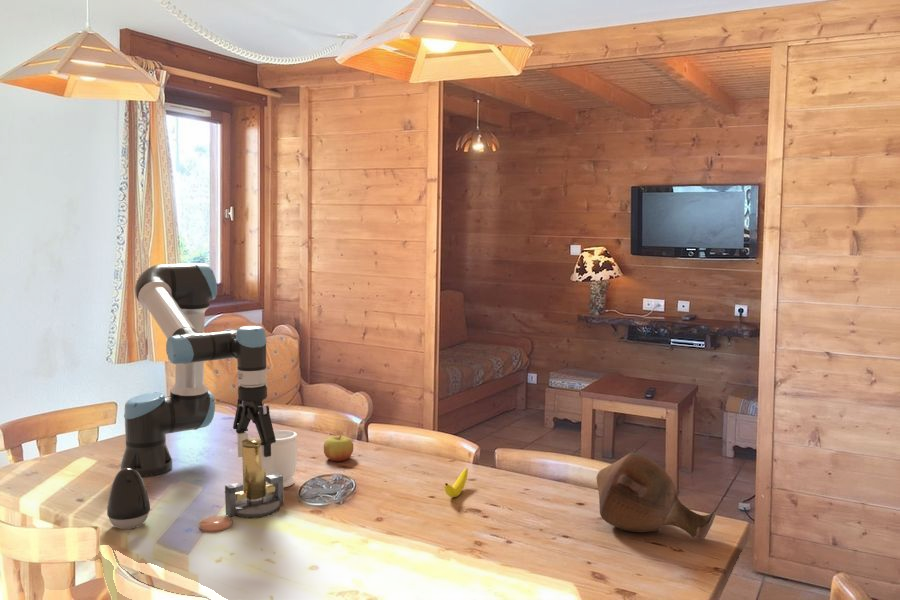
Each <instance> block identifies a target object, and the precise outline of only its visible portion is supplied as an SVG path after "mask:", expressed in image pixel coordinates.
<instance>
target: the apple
mask: <svg viewBox="0 0 900 600" xmlns="http://www.w3.org/2000/svg"><path fill="white" fill-rule="evenodd" d="M323 453H324V455H325V458H326V459H328V460H330V461H332V462H345V461H347V460H348V459H350V457H351V456H352V455H353V453H354V443H353V441H352V440H351V438H350V437H347V436H345V435H333V436H330V437H328V438H326V440H325V441H324V443H323Z"/></svg>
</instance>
